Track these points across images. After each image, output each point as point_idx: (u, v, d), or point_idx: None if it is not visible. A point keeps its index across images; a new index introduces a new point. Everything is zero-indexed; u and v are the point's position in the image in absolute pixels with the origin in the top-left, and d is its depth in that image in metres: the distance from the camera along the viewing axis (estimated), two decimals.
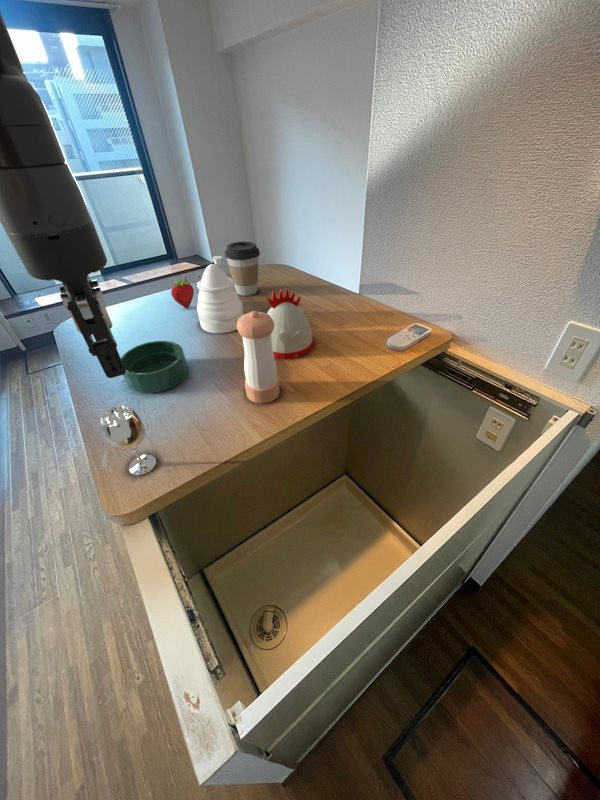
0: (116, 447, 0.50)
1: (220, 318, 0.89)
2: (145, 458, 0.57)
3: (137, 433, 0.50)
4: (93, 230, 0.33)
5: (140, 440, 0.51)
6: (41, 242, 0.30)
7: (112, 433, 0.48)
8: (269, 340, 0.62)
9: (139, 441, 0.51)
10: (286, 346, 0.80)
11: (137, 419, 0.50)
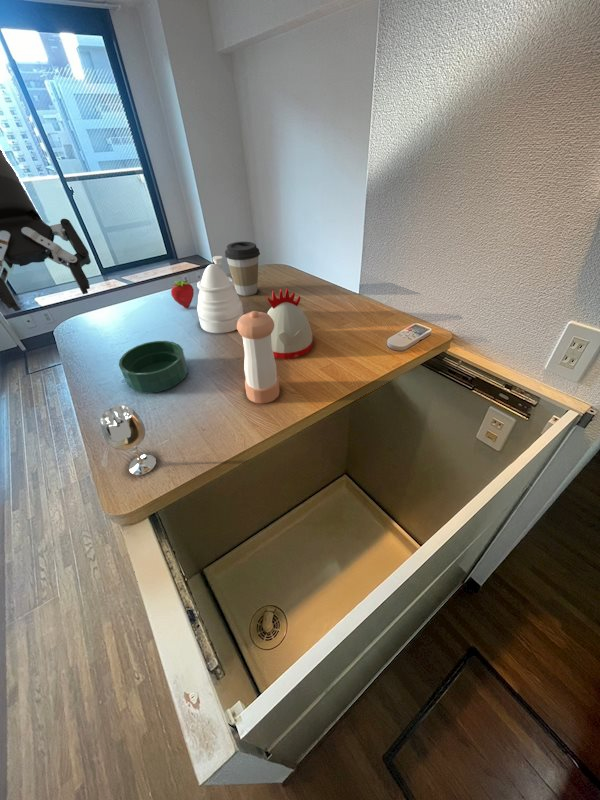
0: (116, 447, 0.50)
1: (220, 318, 0.89)
2: (145, 458, 0.57)
3: (137, 433, 0.50)
4: None
5: (140, 440, 0.51)
6: (25, 190, 0.46)
7: (112, 433, 0.48)
8: (269, 340, 0.62)
9: (139, 441, 0.51)
10: (286, 346, 0.80)
11: (137, 419, 0.50)
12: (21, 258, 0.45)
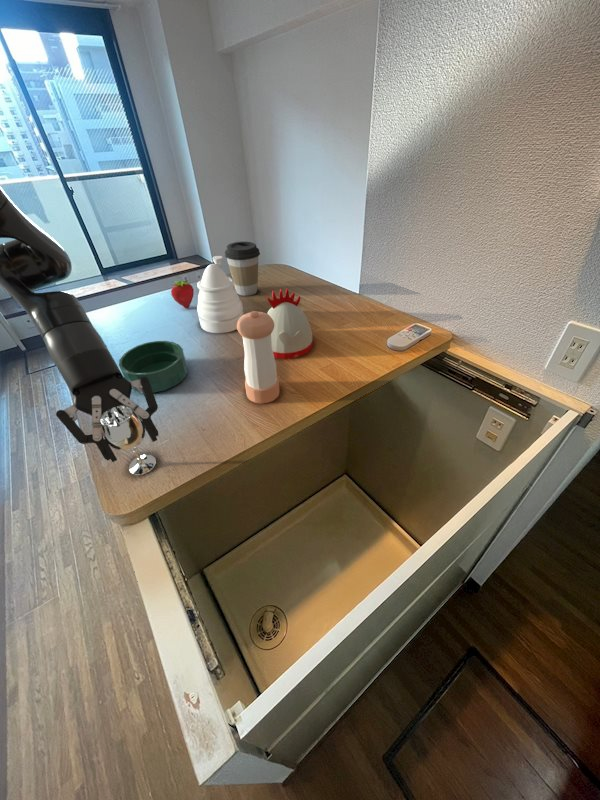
0: (116, 447, 0.50)
1: (220, 318, 0.89)
2: (145, 458, 0.57)
3: (137, 433, 0.50)
4: None
5: (140, 440, 0.51)
6: (109, 353, 0.52)
7: (112, 433, 0.48)
8: (269, 340, 0.62)
9: (139, 441, 0.51)
10: (286, 346, 0.80)
11: (137, 420, 0.50)
12: None
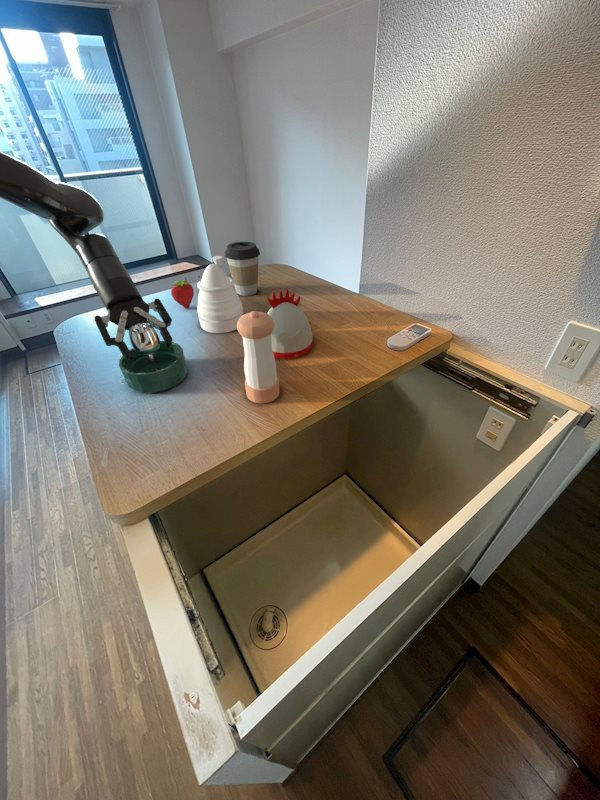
0: (140, 351, 0.69)
1: (220, 318, 0.89)
2: (159, 369, 0.77)
3: (155, 342, 0.70)
4: None
5: (157, 348, 0.71)
6: None
7: (137, 339, 0.67)
8: (269, 340, 0.62)
9: (156, 349, 0.70)
10: (286, 346, 0.80)
11: (155, 332, 0.69)
12: None
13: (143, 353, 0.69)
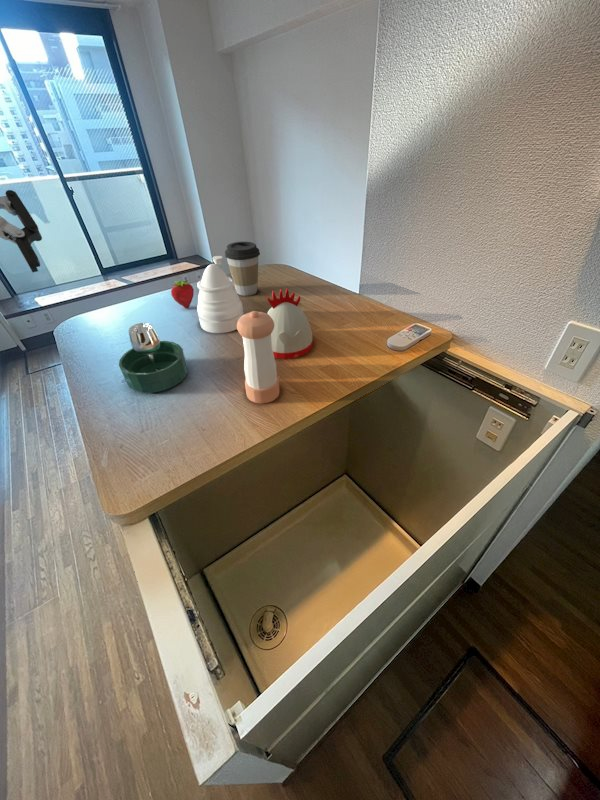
0: (140, 351, 0.69)
1: (220, 318, 0.89)
2: (159, 369, 0.77)
3: (155, 342, 0.70)
4: None
5: (157, 348, 0.71)
6: None
7: (137, 339, 0.67)
8: (269, 340, 0.62)
9: (156, 349, 0.70)
10: (286, 346, 0.80)
11: (155, 332, 0.69)
12: None
13: (143, 353, 0.69)
